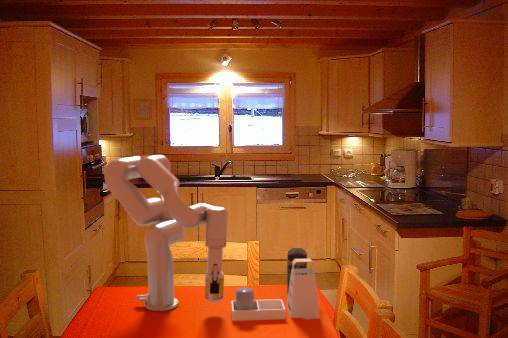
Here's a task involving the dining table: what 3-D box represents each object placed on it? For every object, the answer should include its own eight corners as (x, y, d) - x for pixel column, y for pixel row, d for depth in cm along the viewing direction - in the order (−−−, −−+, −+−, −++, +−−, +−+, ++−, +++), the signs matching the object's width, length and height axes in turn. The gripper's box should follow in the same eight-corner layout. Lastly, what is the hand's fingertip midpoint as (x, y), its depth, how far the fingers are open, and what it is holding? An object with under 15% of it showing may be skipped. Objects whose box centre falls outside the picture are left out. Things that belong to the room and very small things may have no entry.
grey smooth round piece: (236, 318, 184) (236, 294, 183) (235, 311, 191) (235, 287, 190) (254, 318, 185) (254, 293, 184) (253, 311, 191) (253, 287, 190)
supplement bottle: (226, 297, 191) (227, 263, 189) (218, 304, 185) (220, 269, 183) (209, 294, 193) (210, 261, 191) (201, 300, 187) (202, 266, 185)
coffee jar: (286, 290, 215) (287, 246, 212) (306, 290, 214) (306, 246, 212) (286, 298, 205) (287, 252, 203) (307, 299, 205) (307, 253, 202)
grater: (286, 308, 195) (286, 256, 193) (313, 307, 196) (314, 255, 194) (290, 319, 185) (291, 264, 183) (319, 318, 186) (320, 264, 184)
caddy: (232, 322, 183) (232, 311, 182) (231, 311, 192) (231, 300, 192) (285, 320, 184) (285, 309, 184) (281, 309, 194) (281, 299, 193)
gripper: (205, 234, 194) (204, 281, 197) (205, 248, 177) (203, 298, 180) (225, 235, 195) (224, 281, 197) (227, 248, 178) (225, 299, 180)
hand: (214, 289), depth 188 cm, fingers closed on supplement bottle, 6 cm apart
